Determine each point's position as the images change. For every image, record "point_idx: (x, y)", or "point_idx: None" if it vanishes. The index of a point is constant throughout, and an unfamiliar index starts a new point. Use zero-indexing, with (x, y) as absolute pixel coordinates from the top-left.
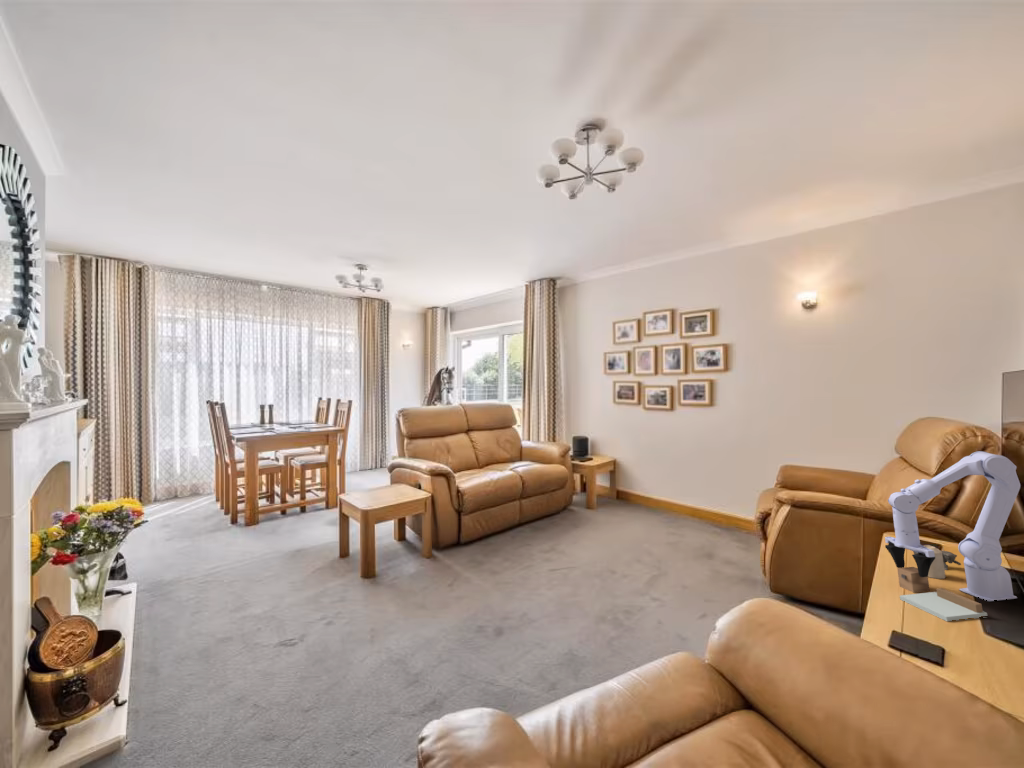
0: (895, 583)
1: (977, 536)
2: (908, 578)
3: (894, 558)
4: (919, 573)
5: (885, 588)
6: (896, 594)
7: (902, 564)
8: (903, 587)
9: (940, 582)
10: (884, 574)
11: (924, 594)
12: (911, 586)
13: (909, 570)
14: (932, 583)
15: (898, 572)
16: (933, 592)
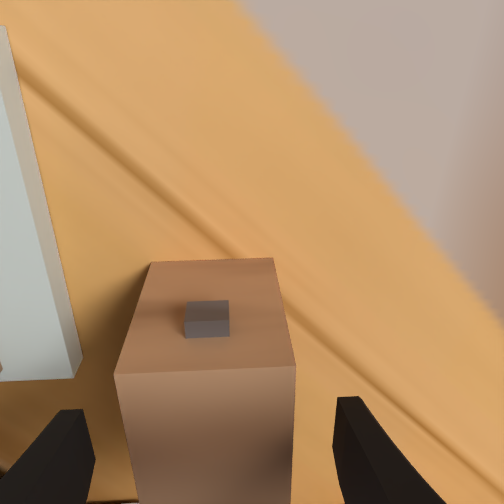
0: (332, 274)
1: None
2: (164, 325)
3: (392, 484)
4: (55, 434)
5: (267, 113)
6: (128, 96)
7: (343, 467)
8: (239, 262)
9: None
10: (491, 328)
11: (19, 269)
12: (153, 285)
13: (208, 423)
14: None
15: (281, 334)
16: (58, 353)
